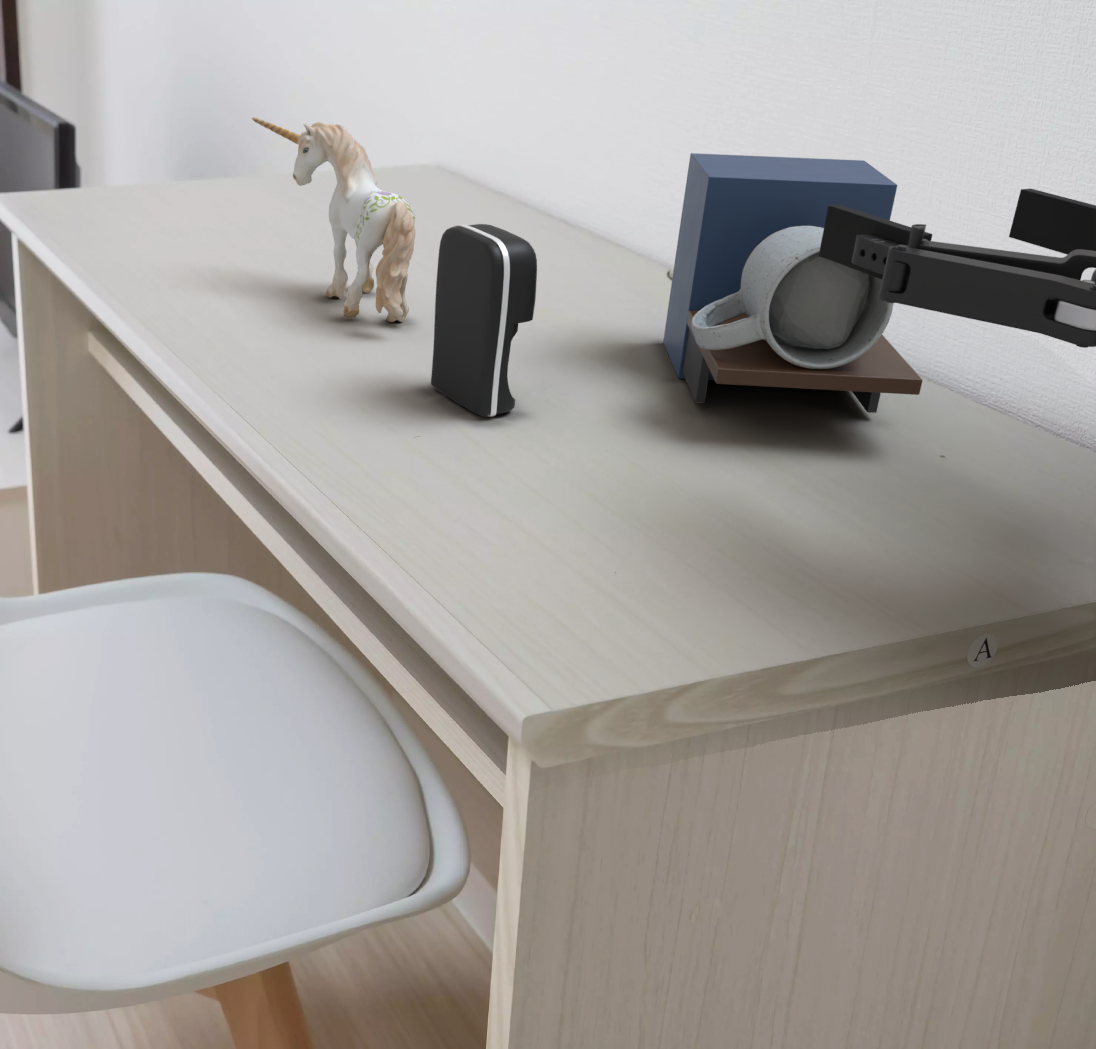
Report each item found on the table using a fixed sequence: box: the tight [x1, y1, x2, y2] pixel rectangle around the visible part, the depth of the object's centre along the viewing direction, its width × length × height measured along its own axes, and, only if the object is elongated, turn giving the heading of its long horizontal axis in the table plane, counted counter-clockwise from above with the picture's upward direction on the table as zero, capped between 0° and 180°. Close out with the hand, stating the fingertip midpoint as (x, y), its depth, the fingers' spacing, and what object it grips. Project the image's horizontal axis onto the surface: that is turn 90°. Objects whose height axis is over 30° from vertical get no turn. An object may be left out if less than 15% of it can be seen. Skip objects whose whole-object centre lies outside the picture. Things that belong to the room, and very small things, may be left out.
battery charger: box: [430, 223, 538, 417], centre depth 87 cm, size 7×4×11 cm, turn 26°
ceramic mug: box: [691, 226, 895, 369], centre depth 83 cm, size 11×8×8 cm
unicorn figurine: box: [251, 116, 416, 323], centre depth 105 cm, size 7×20×13 cm, turn 34°
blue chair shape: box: [662, 152, 923, 414], centre depth 89 cm, size 12×20×14 cm, turn 174°
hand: (926, 221), depth 74 cm, fingers open, 13 cm apart
